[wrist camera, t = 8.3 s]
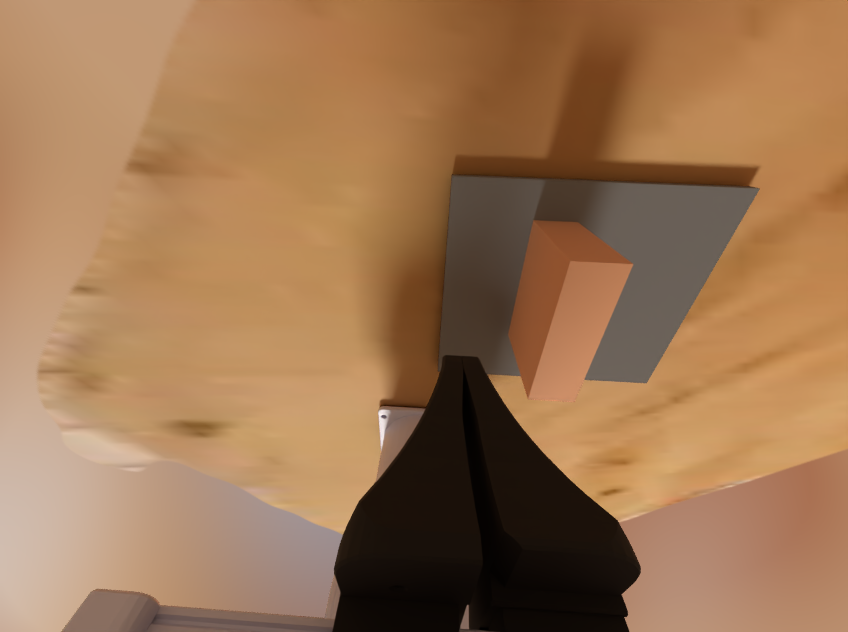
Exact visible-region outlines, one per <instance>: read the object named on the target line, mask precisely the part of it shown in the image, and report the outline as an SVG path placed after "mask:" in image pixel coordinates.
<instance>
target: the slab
mask: <svg viewBox="0 0 848 632" xmlns="http://www.w3.org/2000/svg"><path fill="white" fill-rule="evenodd" d="M632 266H633V263H631V262H630V261H629V260H627V259H626V258H625V257H623V256H622V255H621V254H619V253H618V252H617V251H615V250H614V249H613V248H611V247H610V246H609V245H607V244H606V243H605V242H603V241H602V240H601V239H599V238H598V237H597V236H595V235H594V234H593V233H592V232H590V231H589V230H588V229H586V228H585V227H584V226H582V225H581V224H580V223H578V222H563V221H540V220H533V223H532V228H531V233H530V237H529V242H528V246H527V251H526V255H525V260H524V264H523V269H522V273H521V278H520V283H519V287H518V292H517V296H516V301H515V305H514V310H513V314H512V319H511V324H510V328H509V333H508V336H509V339H510V342H511V345H512V349H513V352H514V355H515V358H516V362H517V365H518V368H519V371H520V375H521V378H522V381H523V384H524V388H525V391H526V394H527V397H528V399H531V400H548V401H565V402H575V400H576V398H577V395H578V393H579V391H580V388H581V386H582V384H583V381H584V379H585V377H586V374H587V372H588V370H589V367H590V365H591V362H592V360H593V358H594V355H595V353H596V351H597V348H598V346H599V344H600V341H601V339H602V337H603V334H604V332H605V330H606V327H607V325H608V323H609V320H610V318H611V316H612V313H613V311H614V309H615V306H616V304H617V302H618V299H619V297H620V295H621V292H622V290H623V288H624V285H625V283H626V281H627V278H628V276H629V273H630V271H631V269H632Z"/></svg>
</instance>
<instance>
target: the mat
mask: <svg viewBox="0 0 848 632" xmlns="http://www.w3.org/2000/svg"><path fill="white" fill-rule="evenodd" d="M759 189H760V188H755V187H750V186H726V185H701V184H676V183H651V182H627V181H602V180H577V179H552V178H527V177H502V176H477V175H453V174H452V179H451V193H450V207H449V221H448V235H447V248H446V262H445V276H444V290H443V304H442V317H441V331H440V345H439V359H438V371H441V367H442V357H443V356H445V355H456V356H474V357H478V358H479V359H480V361H481V363H482V366H483V368H484V370H485V372H486V374H493V375H511V376H521V375H520V371H519V368H518V365H517V362H516V358H515V355H514V352H513V349H512V345H511V342H510V339H509V336H508V333H509V328H510V324H511V319H512V314H513V310H514V305H515V301H516V296H517V292H518V287H519V283H520V278H521V273H522V269H523V264H524V260H525V255H526V251H527V246H528V242H529V237H530V233H531V228H532V223H533V220H540V221H563V222H578V223H580V224H581V225H582V226H584V227H585V228H586V229H588V230H589V231H590V232H592V233H593V234H594V235H595V236H597V237H598V238H599V239H601V240H602V241H603V242H605V243H606V244H607V245H609V246H610V247H611V248H613V249H614V250H615V251H617V252H618V253H619V254H621V255H622V256H623V257H625V258H626V259H627V260H629V261H630V262H631V263H633V266H632V269H631V271H630V273H629V276H628V278H627V281H626V283H625V285H624V288H623V290H622V292H621V295H620V297H619V299H618V302H617V304H616V306H615V309H614V311H613V313H612V316H611V318H610V320H609V323H608V325H607V327H606V330H605V332H604V334H603V337H602V339H601V341H600V344H599V346H598V348H597V351H596V353H595V355H594V358H593V360H592V362H591V365H590V367H589V370H588V372H587V374H586V377H585V379H584V380H599V381H616V382H634V383H647V382H648V380H649V378H650V376H651V375H652V373H653V371H654V370H655V368H656V366H657V364H658V363H659V361H660V359H661V358H662V356H663V354H664V352H665V351H666V349H667V347H668V346H669V344H670V342H671V340H672V339H673V337H674V335H675V334H676V332H677V330H678V328H679V327H680V325H681V323H682V322H683V320H684V318H685V316H686V315H687V313H688V311H689V309H690V308H691V306H692V304H693V303H694V301H695V299H696V297H697V296H698V294H699V292H700V291H701V289H702V287H703V285H704V284H705V282H706V280H707V279H708V277H709V275H710V273H711V272H712V270H713V268H714V267H715V265H716V263H717V261H718V260H719V258H720V256H721V255H722V253H723V251H724V249H725V248H726V246H727V244H728V242H729V241H730V239H731V237H732V236H733V234H734V232H735V230H736V229H737V227H738V225H739V224H740V222H741V220H742V218H743V217H744V215H745V213H746V212H747V210H748V208H749V206H750V205H751V203H752V201H753V200H754V198H755V196H756V194H757V193H758V191H759Z"/></svg>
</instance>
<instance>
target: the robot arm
mask: <svg viewBox="0 0 848 632" xmlns="http://www.w3.org/2000/svg"><path fill="white" fill-rule="evenodd" d="M378 416H379V429H380V442H381V456H380V461H379V467H378V472H377V478H376V482H375V484H374V485H373V486H372V487H371V488H370V489H369V490H368V492H367V493H366V494H365V495H364V496H363V497H362V498H361V500H360V501H359V503H358V504H357V506H356V508H355V510H354V512H353V514H352V516H351V518H350V520H349V522H348V524H347V527H346V529H345V531H344V534H343V537H342V540H341V543H340V546H339V550H338V554H337V558H336V562H335V567H334V578H333V582H332V586H331V590H330V594H329V599H328V604H327V608H326V614H325V618H317V617H305V616H291V615H279V614H267V613H254V612H241V611H228V610H215V609H203V608H190V607H177V606H165V605H164V606H163V605H160V604H159V602H158V601H157V600H156V599H155V598H154V597H152V596H150V595H147V594H144V593H140V592H132V591H120V590H119V591H118V590H107V589H96V590H93V591H92V592H90V594H89V595H88V597H87V598H86V599H85V601H84V602H83V603H82V605H81V606H80V607H79V609H78V610H77V611H76V613H75V614H74V615H73V617H72V618H71V620H70V621H69V622H68V624H67V625H66V626H65V627H64V629H63V630H62V631H61V632H629V629H628V627H627V624H626V621H625V618H624V617H627V616H628V611H627V608H626V605H625V603H624V600H623V597H622V595H621V594H622V593H624V592H625V591H626V590H627V589H628V588H629V587H630V586H631V585H632V584H633V583H634V582H635V581H636V580H637V578H638V577H639V575H640V573H641V571H640V570H641V568H640V564H639V562H638V560H637V557H636V555H635V553H634V551H633V549H632V546H631V544H630V543H629V540H628V539H627V537H626V535H625V534H624V531H623V530H622V528H621V526H620V524H619V522H618V520H616V519H615V518H614V517H613V516H612V515H610V514H609V513H608V512H607V511H606V510H604V509H603V508H602V507H601V506H600V505H598V504H597V503H596V502H595V501H593V500H592V499H591V498H590V497H589V496H587V495H586V494H585V493H584V492H583V491H582V490H581V489H579V488H578V487H577V486H576V485H575V484H574V483H573V482H572V481H571V480H570V479H569V478H568V477H567V476H566V475H565V474H564V473H563V472H562V471H561V470H560V469H559V468H558V467H557V466H556V465H555V464H554V463H553V462H552V461H551V460H550V459H549V458H548V457H547V456H546V455H545V454H544V453H543V452H542V451H541V450H540V449H539V447H538V446H537V445H536V444H535V443H534V442H533V441H532V439H531V438H530V437H529V436H528V435H527V433H526V432H525V431H524V430H523V428H522V427H521V426H520V425H519V423H518V422H517V421H516V419H515V418H514V417H513V415H512V414H511V412H510V411H509V410H508V408H507V407H506V405H505V404H504V402H503V401H502V399H501V397H500V396H499V394H498V393H497V391H496V389H495V388H494V386H493V384H492V383H491V381H490V379H489V377H488V375H487V374H486V372H485V370H484V368H483V366H482V363H481V361H480V359H479V358H478V357H474V356H456V355H445V356H443V357H442V367H441V371H440V374H439V378H438V381H437V383H436V386H435V389H434V391H433V394H432V396H431V398H430V400H429V402H428V405H427V407H426V409H424V408H408V407H391V406H382V407H380V408H379V411H378Z"/></svg>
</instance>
